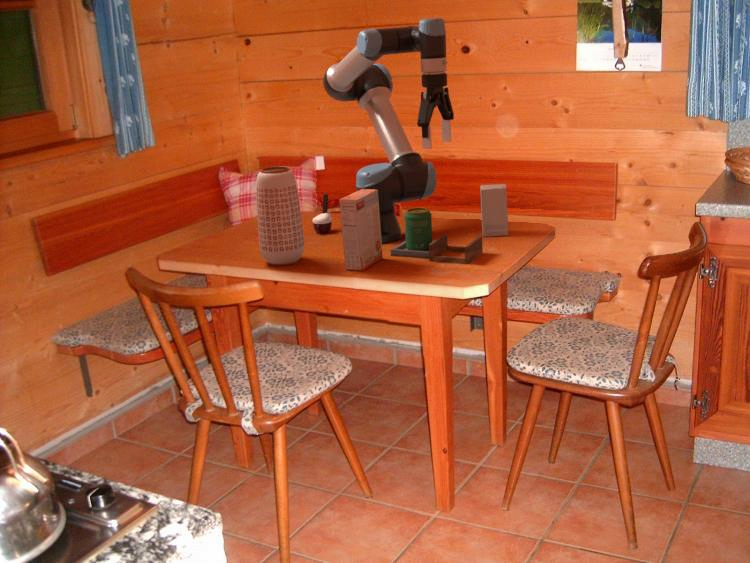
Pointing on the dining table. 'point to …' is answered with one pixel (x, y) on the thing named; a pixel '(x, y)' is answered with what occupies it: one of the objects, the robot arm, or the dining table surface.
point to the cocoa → (323, 218)
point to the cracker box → (361, 229)
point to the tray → (408, 252)
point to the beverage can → (418, 229)
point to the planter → (279, 216)
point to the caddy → (454, 250)
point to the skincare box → (494, 210)
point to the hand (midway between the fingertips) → (437, 145)
